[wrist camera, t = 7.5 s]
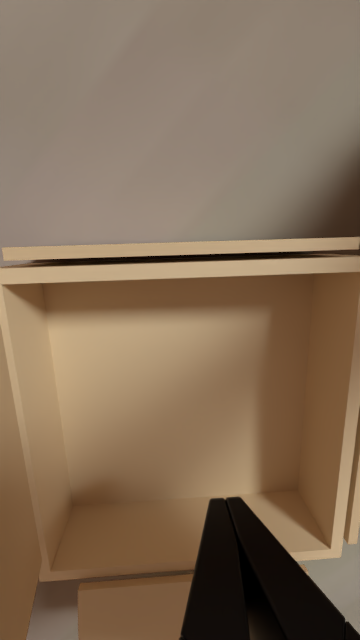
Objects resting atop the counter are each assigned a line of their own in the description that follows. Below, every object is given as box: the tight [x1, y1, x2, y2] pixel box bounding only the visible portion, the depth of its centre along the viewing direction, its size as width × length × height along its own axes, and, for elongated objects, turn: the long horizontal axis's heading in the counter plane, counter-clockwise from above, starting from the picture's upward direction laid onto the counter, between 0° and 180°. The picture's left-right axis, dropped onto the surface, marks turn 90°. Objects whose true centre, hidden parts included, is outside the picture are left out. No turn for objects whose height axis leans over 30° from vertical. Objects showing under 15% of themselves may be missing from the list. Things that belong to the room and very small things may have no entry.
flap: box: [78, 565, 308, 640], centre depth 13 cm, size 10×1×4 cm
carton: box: [0, 237, 360, 582], centre depth 13 cm, size 14×14×4 cm
